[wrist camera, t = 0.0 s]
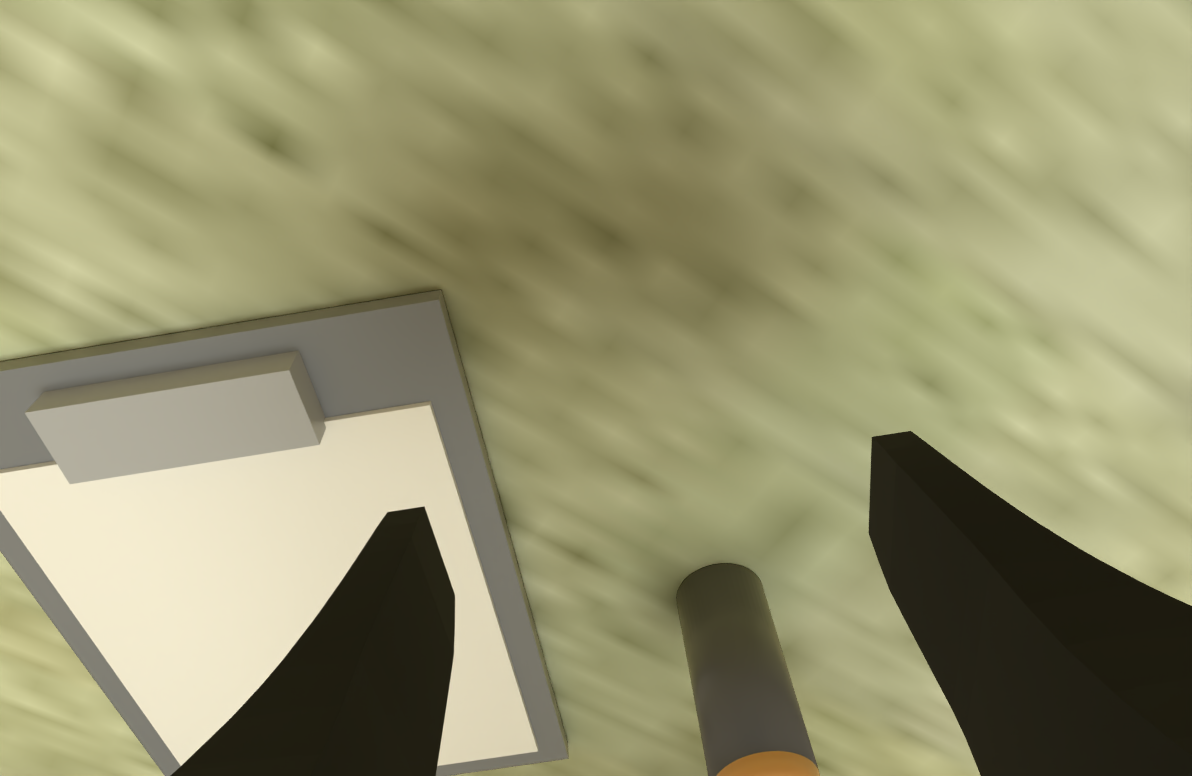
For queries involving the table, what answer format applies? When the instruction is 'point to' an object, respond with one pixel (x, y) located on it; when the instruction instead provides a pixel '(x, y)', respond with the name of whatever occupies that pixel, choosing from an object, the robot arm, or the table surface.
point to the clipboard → (261, 514)
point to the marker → (740, 677)
